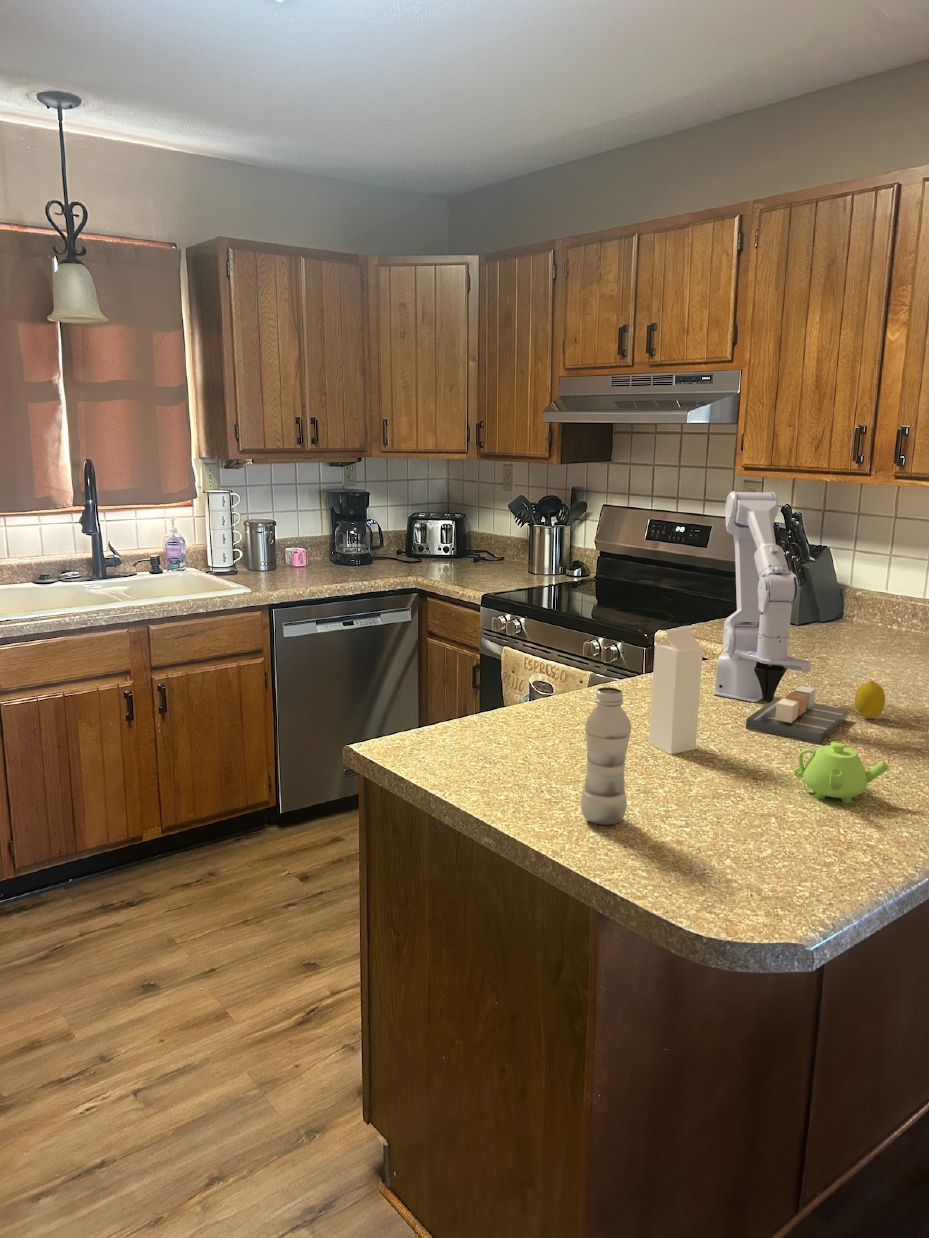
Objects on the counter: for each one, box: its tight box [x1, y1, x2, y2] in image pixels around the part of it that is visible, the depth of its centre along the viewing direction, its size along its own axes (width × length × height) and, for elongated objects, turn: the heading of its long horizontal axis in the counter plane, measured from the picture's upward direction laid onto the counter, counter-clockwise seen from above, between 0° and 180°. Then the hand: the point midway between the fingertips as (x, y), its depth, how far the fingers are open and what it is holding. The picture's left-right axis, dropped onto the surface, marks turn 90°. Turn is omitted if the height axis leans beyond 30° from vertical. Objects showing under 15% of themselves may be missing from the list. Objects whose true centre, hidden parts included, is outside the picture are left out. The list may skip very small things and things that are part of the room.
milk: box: [648, 627, 704, 755], centre depth 162 cm, size 6×6×22 cm
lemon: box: [854, 680, 886, 720], centre depth 181 cm, size 6×6×8 cm
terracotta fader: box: [785, 691, 807, 716], centre depth 178 cm, size 3×4×3 cm
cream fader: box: [775, 697, 799, 723], centre depth 173 cm, size 3×4×3 cm
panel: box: [745, 697, 848, 745], centre depth 178 cm, size 14×18×2 cm
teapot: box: [793, 740, 890, 804], centre depth 144 cm, size 11×12×8 cm
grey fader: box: [793, 685, 816, 709], centre depth 182 cm, size 3×4×3 cm
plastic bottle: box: [580, 686, 632, 826], centre depth 131 cm, size 6×7×20 cm
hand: (767, 700), depth 181 cm, fingers closed
